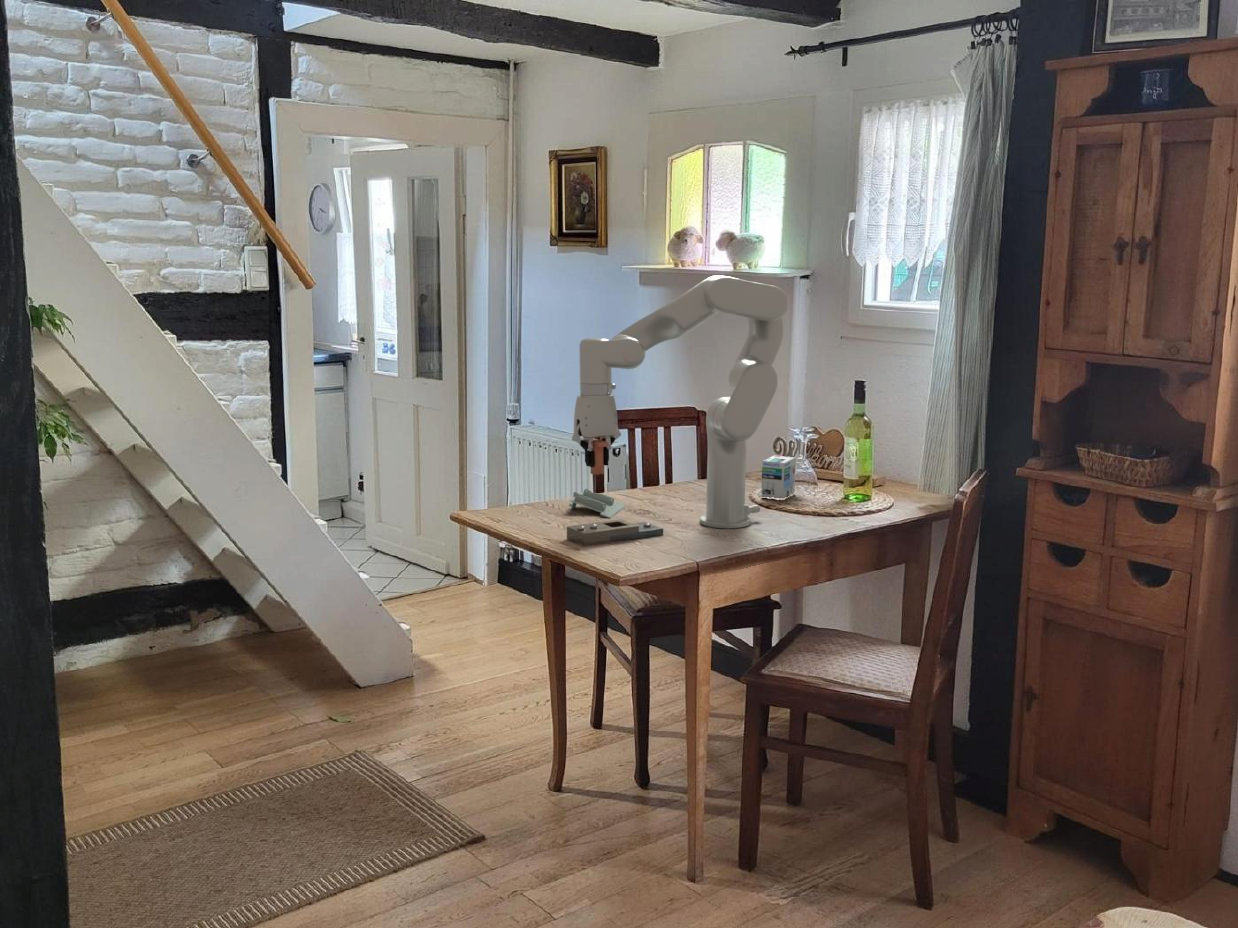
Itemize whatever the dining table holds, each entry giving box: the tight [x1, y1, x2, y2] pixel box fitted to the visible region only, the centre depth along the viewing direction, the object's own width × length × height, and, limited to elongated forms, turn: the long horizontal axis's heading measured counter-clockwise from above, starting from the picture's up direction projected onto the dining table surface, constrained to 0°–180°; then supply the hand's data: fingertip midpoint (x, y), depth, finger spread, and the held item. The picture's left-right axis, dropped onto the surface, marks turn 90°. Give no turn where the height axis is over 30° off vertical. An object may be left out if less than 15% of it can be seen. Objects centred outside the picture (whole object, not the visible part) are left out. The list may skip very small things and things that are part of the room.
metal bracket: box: [568, 488, 628, 519], centre depth 297 cm, size 14×6×15 cm
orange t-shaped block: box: [590, 438, 609, 475], centre depth 274 cm, size 3×7×8 cm, turn 32°
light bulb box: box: [760, 454, 797, 498], centre depth 315 cm, size 11×7×11 cm, turn 154°
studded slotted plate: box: [566, 518, 664, 547], centre depth 269 cm, size 22×8×4 cm, turn 122°
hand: (597, 464), depth 275 cm, fingers closed on orange t-shaped block, 3 cm apart
